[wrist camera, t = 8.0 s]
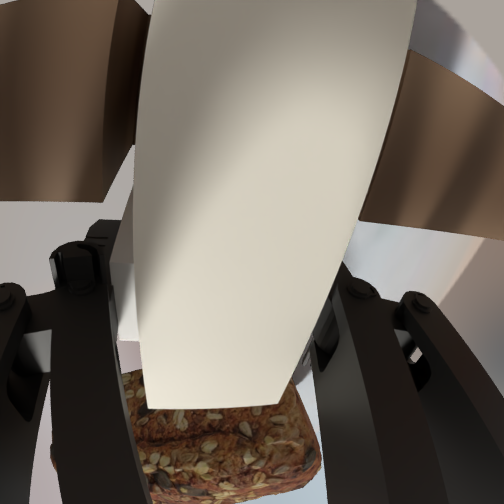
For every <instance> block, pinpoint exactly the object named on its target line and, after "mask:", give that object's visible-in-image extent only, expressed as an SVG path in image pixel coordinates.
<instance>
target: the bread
mask: <svg viewBox="0 0 504 504" xmlns="http://www.w3.org/2000/svg"><path fill="white" fill-rule="evenodd" d="M122 380H123V385H124V391H125V396H126V401H127V406H128V411H129V416H130V420H131V425H132V429H133V434H134V438H135V442H136V446H137V450H138V454H139V458H140V461H141V465H142V468H143V472H144V475H145V479H146V482H147V486H148V489H149V492H150V495H151V498H152V501H153V504H235V503H240V502H244V501H248V500H253V499H257V498H260V497H262V496H266V495H272V494H274V495H277V494H279V493H285V492H289V491H293V490H296V489H300V488H303V487H304V486H305V485H306V484H307V483H308V482H309V481H310V480H312V479H313V477H314V476H315V475H316V474H317V472H318V471H319V470H320V469H321V460H322V457H321V452H320V446H319V443H318V440H317V437H316V434H315V432H314V429H313V427H312V424H311V421H310V419H309V417H308V414H307V412H306V410H305V407H304V405H303V403H302V400H301V398H300V395H299V393H298V391H297V389H296V386H295V384H294V381H293V379H292V377H291V378H290V380H289V382H288V384H287V386H286V388H285V390H284V392H283V394H282V396H281V398H280V400H279V402H278V404H271V405H260V406H248V407H233V408H212V409H148V405H147V399H146V392H145V385H144V378H143V370H142V369H139V370H135V371H132V372H128V373H124V374H122ZM50 458H51V461H52V464H53V467H54V469H55V470H56V472H57V468H56V461H55V453H54V443H53V433H52V444H51V446H50Z"/></svg>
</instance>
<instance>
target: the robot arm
mask: <svg viewBox="0 0 504 504" xmlns="http://www.w3.org/2000/svg"><path fill="white" fill-rule="evenodd" d="M133 185H134V184H133ZM49 261H50V266H51V271H52V276H53V280H54V284H55V290H53V291H50V292H46V293H43V294H37V295H31V296H26V293H25V290H24V289H23V288H22V287H21V286H20V285H18V284H15V283H3V284H0V504H29V497H30V486H31V476H32V469H33V461H34V454H35V448H36V442H37V436H38V430H39V425H40V420H41V415H42V411H43V406H44V401H45V397H46V393H47V389H48V385H49V381H50V397H51V418H52V433H53V443H54V453H55V461H56V468H57V474H58V481H59V487H60V493H61V498H62V503H63V504H153V501H152V498H151V495H150V492H149V489H148V486H147V482H146V479H145V475H144V472H143V468H142V465H141V461H140V458H139V454H138V450H137V446H136V442H135V438H134V434H133V429H132V425H131V420H130V416H129V411H128V406H127V401H126V396H125V391H124V385H123V380H122V374H121V368H120V361H119V355H118V349H117V344H116V341H117V333H118V335H119V340H120V341H139V334H138V324H137V311H136V297H135V280H134V254H133V187H132V190H131V193H130V196H129V199H128V202H127V205H126V208H125V211H124V214H123V217H122V220H103V219H99V220H98V221H97V222H95V223H94V224H93V225H92V226H91V227H90V228H89V230H88V232H87V235H86V238H85V240H84V241H74V242H68V243H66V244H64V245H61V246H59V247H58V248H57V249H56V250H54V251H53V252H52V254H51V256H50V258H49ZM312 334H313V336H314V337H313V339H312V342H311V344H310V346H309V348H308V350H307V352H306V354H305V356H304V358H303V362H302V366H306V364H307V362H308V360H309V358H311V365H310V366H312V372H313V380H314V387H315V394H316V402H317V410H318V417H319V425H320V434H321V442H322V451H323V460H324V469H325V478H326V488H327V499H328V504H504V398H503V396H502V394H501V393H500V392H499V390H498V388H497V387H496V385H495V384H494V382H493V381H492V379H491V378H490V376H489V375H488V374H487V372H486V371H485V369H484V368H483V366H482V365H481V363H480V362H479V361H478V359H477V358H476V356H475V355H474V354H473V352H472V351H471V350H470V348H469V347H468V345H467V344H466V343H465V341H464V340H463V339H462V337H461V336H460V335H459V333H458V332H457V331H456V329H455V328H454V327H453V326H452V324H451V323H450V322H449V320H448V319H447V318H446V317H445V315H443V313H442V312H441V310H440V309H439V308H438V307H437V305H436V304H435V303H434V302H433V301H432V300H431V299H430V298H429V297H427V296H426V295H425V294H423V293H420V292H416V291H409V292H405V294H404V295H403V297H402V299H401V300H400V302H395V301H390V300H386V299H382V298H381V297H380V295H379V293H378V292H377V290H376V289H375V288H374V287H373V286H372V285H371V284H370V283H368V282H366V281H364V280H362V279H359V278H355V277H353V276H352V275H351V273H350V272H349V270H348V269H347V267H346V266H345V264H344V263H343V261H342V262H341V264H340V267H339V270H338V272H337V275H336V277H335V279H334V282H333V284H332V287H331V289H330V292H329V294H328V296H327V299H326V301H325V303H324V306H323V308H322V310H321V313H320V315H319V317H318V320H317V322H316V324H315V327H314V329H313V331H312ZM417 347H418V348H419V349H420V351H421V352H422V355H421V357H420V358H419V359H418V361H417V362H416V363H415V362H413V361H412V360H411V358H410V357H411V355H412V354H413V353H414V352H415V350H416V348H417Z"/></svg>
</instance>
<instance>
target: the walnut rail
mask: <svg viewBox="0 0 504 504" xmlns="http://www.w3.org/2000/svg"><path fill="white" fill-rule="evenodd" d="M150 21H151V15H148V14H147V13H146V12H145V11H144V9H142V7H141V6H140V5H139V4H138V3H137V2H136V1H135V0H17V1H12V2H8V3H5V4H1V5H0V201H54V202H55V201H56V202H57V201H58V202H98V203H102V202H103V201H104V199H105V197H106V195H107V193H108V191H109V189H110V187H111V185H112V183H113V181H114V179H115V177H116V175H117V173H118V171H119V169H120V167H121V165H122V163H123V161H124V159H125V157H126V156H127V154H128V152H129V150H130V148H131V147H132V145H135V142H136V128H137V116H138V106H139V96H140V87H141V79H142V71H143V64H144V57H145V50H146V44H147V38H148V32H149V26H150ZM358 220H359V221H363V222H372V223H381V224H389V225H397V226H405V227H413V228H421V229H429V230H436V231H443V232H450V233H457V234H464V235H471V236H478V237H484V238H491V239H497V240H503V241H504V106H503V105H502V104H500V103H499V102H497V101H496V100H495V99H493V98H492V97H490V96H489V95H488V94H486V93H485V92H483V91H482V90H480V89H479V88H477V87H476V86H474V85H473V84H471V83H469V82H468V81H466V80H465V79H463V78H461V77H460V76H458V75H456V74H455V73H453V72H451V71H450V70H448V69H446V68H445V67H443V66H441V65H439V64H437V63H436V62H434V61H432V60H430V59H428V58H426V57H424V56H422V55H420V54H419V53H417V52H415V51H413V50H407V55H406V59H405V63H404V67H403V72H402V76H401V80H400V84H399V88H398V91H397V95H396V99H395V103H394V106H393V110H392V114H391V117H390V121H389V124H388V128H387V131H386V134H385V138H384V141H383V144H382V148H381V151H380V154H379V157H378V161H377V164H376V167H375V170H374V173H373V176H372V179H371V182H370V185H369V188H368V191H367V194H366V197H365V200H364V203H363V206H362V208H361V211H360V214H359V217H358Z"/></svg>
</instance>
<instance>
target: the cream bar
mask: <svg viewBox="0 0 504 504" xmlns="http://www.w3.org/2000/svg"><path fill="white" fill-rule="evenodd" d="M416 6H417V0H154V6H153V10H152V15H151V21H150V26H149V32H148V38H147V44H146V50H145V57H144V64H143V71H142V79H141V87H140V96H139V106H138V116H137V128H136V142H135V159H134V185H133V254H134V280H135V297H136V311H137V324H138V334H139V344H140V353H141V362H142V370H143V378H144V385H145V392H146V399H147V405H148V409H212V408H233V407H248V406H260V405H271V404H278V402H279V400H280V398H281V396H282V394H283V392H284V390H285V388H286V386H287V384H288V382H289V380H290V378H291V376H292V374H293V372H294V370H295V368H296V366H297V364H298V361H299V359H300V357H301V355H302V353H303V351H304V349H305V346H306V344H307V342H308V340H309V338H310V335H311V333H312V331H313V329H314V327H315V324H316V322H317V320H318V317H319V315H320V313H321V310H322V308H323V306H324V303H325V301H326V299H327V296H328V294H329V292H330V289H331V287H332V284H333V282H334V279H335V277H336V275H337V272H338V270H339V267H340V264H341V262H342V259H343V257H344V254H345V252H346V249H347V246H348V244H349V241H350V239H351V236H352V233H353V230H354V228H355V225H356V222H357V220H358V217H359V214H360V211H361V208H362V206H363V203H364V200H365V197H366V194H367V191H368V188H369V185H370V182H371V179H372V176H373V173H374V170H375V167H376V164H377V161H378V157H379V154H380V151H381V148H382V144H383V141H384V138H385V134H386V131H387V128H388V124H389V121H390V117H391V114H392V110H393V106H394V103H395V99H396V95H397V91H398V88H399V84H400V80H401V76H402V72H403V67H404V63H405V59H406V55H407V50H408V46H409V41H410V36H411V32H412V27H413V22H414V17H415V11H416Z"/></svg>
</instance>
